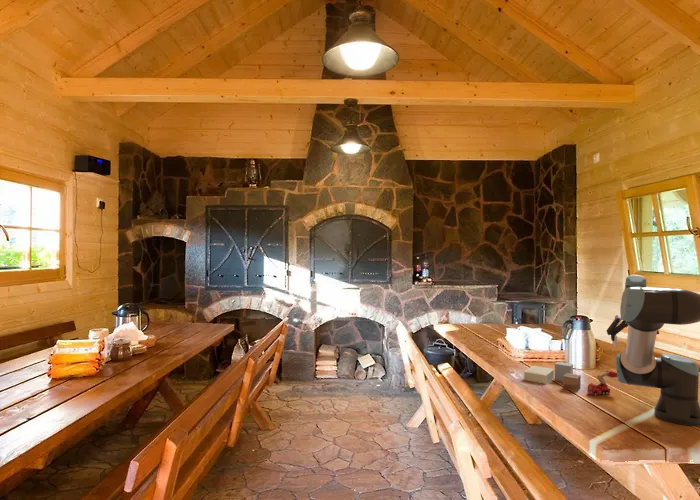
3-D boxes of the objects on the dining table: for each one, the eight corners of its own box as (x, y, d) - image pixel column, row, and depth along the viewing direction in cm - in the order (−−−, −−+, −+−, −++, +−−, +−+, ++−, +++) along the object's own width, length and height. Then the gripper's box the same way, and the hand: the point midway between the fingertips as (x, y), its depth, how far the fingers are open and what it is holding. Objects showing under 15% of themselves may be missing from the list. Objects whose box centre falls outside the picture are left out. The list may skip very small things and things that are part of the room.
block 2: (577, 391, 201) (577, 378, 201) (563, 388, 205) (563, 375, 205) (580, 388, 206) (580, 375, 206) (566, 385, 210) (566, 372, 209)
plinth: (545, 384, 211) (546, 375, 211) (524, 379, 218) (524, 371, 218) (553, 377, 222) (554, 368, 222) (533, 373, 229) (533, 365, 229)
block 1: (570, 383, 214) (570, 366, 213) (554, 380, 218) (554, 363, 218) (572, 380, 217) (573, 364, 217) (557, 377, 222) (557, 361, 222)
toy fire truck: (586, 393, 198) (586, 371, 198) (611, 391, 202) (611, 369, 202) (592, 396, 195) (592, 374, 195) (617, 393, 199) (617, 371, 199)
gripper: (664, 301, 195) (660, 339, 204) (600, 303, 203) (599, 340, 212) (670, 311, 189) (666, 350, 198) (604, 313, 197) (602, 351, 206)
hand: (631, 345), depth 205 cm, fingers open, 13 cm apart
